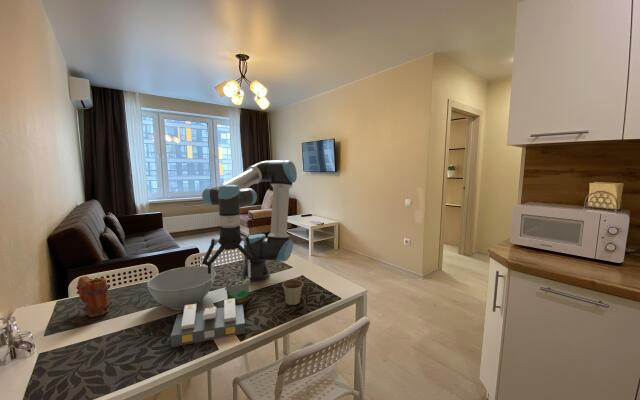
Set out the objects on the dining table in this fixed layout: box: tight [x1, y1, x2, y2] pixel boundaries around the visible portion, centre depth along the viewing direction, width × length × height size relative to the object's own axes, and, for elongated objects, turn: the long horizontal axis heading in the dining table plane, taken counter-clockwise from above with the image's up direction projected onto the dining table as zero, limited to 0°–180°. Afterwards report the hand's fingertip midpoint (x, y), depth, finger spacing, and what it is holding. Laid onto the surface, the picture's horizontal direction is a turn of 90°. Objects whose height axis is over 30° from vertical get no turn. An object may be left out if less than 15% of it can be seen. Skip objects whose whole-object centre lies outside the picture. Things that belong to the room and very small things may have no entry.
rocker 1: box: [181, 304, 198, 329], centre depth 97 cm, size 10×4×2 cm, turn 19°
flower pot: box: [281, 279, 304, 306], centre depth 120 cm, size 9×9×9 cm
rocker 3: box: [223, 298, 236, 322], centre depth 102 cm, size 10×4×2 cm, turn 19°
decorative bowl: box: [146, 265, 217, 311], centre depth 118 cm, size 27×27×12 cm
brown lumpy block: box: [76, 275, 113, 318], centre depth 109 cm, size 15×8×15 cm, turn 71°
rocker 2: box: [203, 306, 217, 320], centre depth 99 cm, size 10×4×2 cm, turn 19°
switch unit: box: [170, 304, 246, 348], centre depth 100 cm, size 14×24×5 cm, turn 109°
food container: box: [224, 276, 251, 306], centre depth 118 cm, size 12×6×10 cm, turn 148°
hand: (231, 278), depth 104 cm, fingers open, 13 cm apart
